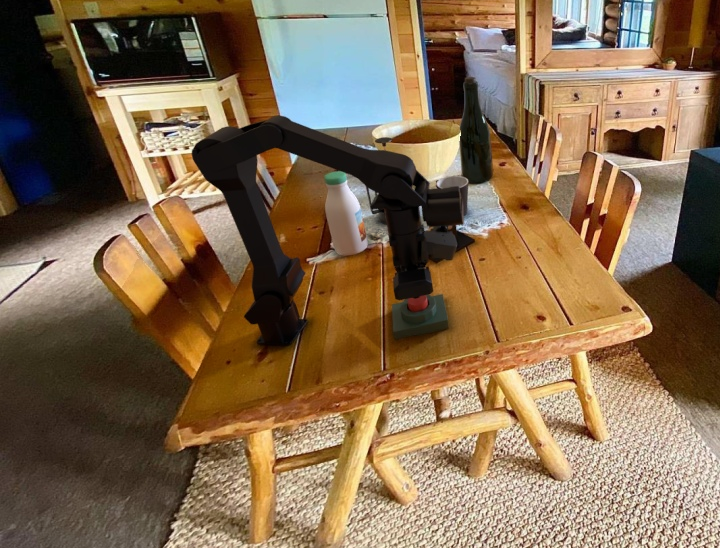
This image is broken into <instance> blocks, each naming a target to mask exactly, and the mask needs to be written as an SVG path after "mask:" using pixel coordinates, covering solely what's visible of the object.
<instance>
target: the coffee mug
mask: <svg viewBox="0 0 720 548" xmlns="http://www.w3.org/2000/svg"><path fill="white" fill-rule="evenodd" d="M453 186H459V187H460V193H461V198H463V211H464V217H466V215H467V214H468V202H469V201H468V200H469V199H468V197H469V182H468V179H467V178H465V177H462V175H461V176H460V175H450V176H445V177H442V178H440V179H437V180H436V181H435V188H436V189H437V188H449V187H453Z"/></svg>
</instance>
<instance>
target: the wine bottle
mask: <svg viewBox="0 0 720 548" xmlns="http://www.w3.org/2000/svg"><path fill="white" fill-rule="evenodd" d="M463 91H464V93H463V94H464V108H463V114H462V117H461V121H460V124H459V128H460V130H461V136H460V141H459V140H458V145H459V146H458V147H459V159H460V161H459V162H460V172H461V176H462V177H465V178H467V179H468V183H470V184H481V183H486V182H488V181H490V180H491V179H492V178H493V177H494V164H493V161H494V160H493V150H492V139H491V131H490V127H489V124H488V122H487V119H486V117H485V116H484V113H483V110H482V107H481V101H480V96H479V82H478V81H477V78H476V77H475V76H467V77H464V82H463Z"/></svg>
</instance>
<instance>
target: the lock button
mask: <svg viewBox="0 0 720 548" xmlns="http://www.w3.org/2000/svg"><path fill="white" fill-rule="evenodd" d="M407 302H408V307H409V310H410V311H412V312H420V311H423V310H425V309H426V308H427V306H428V302H427V296H426V295H424V296H420V297H419V298H416V299H414V298H409V299H408V300H407Z"/></svg>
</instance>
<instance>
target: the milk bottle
mask: <svg viewBox="0 0 720 548" xmlns="http://www.w3.org/2000/svg"><path fill="white" fill-rule="evenodd" d="M323 179H324V182H325V186H326V187H327V195H326V199H325V203H324V204H325V205H324V210H325V211H324V212H325V216H326V220H327V221H326V222H327V225H328V229H329V232H330V237H331V241H332V244H333V248H334V251H335V253H336V254H338V255H339V256H354V255H356V254H359V253H362V252H363V251H365V250H366V249H367V247H368V245H369V242H368V241H369V240H368V236H367V231H366V227H365V221H364V218H363V217H364V216H363V214H362V209H361V206H360V205H361V204H360V202H359V200H358V198H357V197H356V195H355V194H354V193H353V191H352V190H351V189H350V187H349V185H348V177H347V173H344V172H341V171H339V170H336V171H331V172H329V173H326V174H325V175H324V178H323Z"/></svg>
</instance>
